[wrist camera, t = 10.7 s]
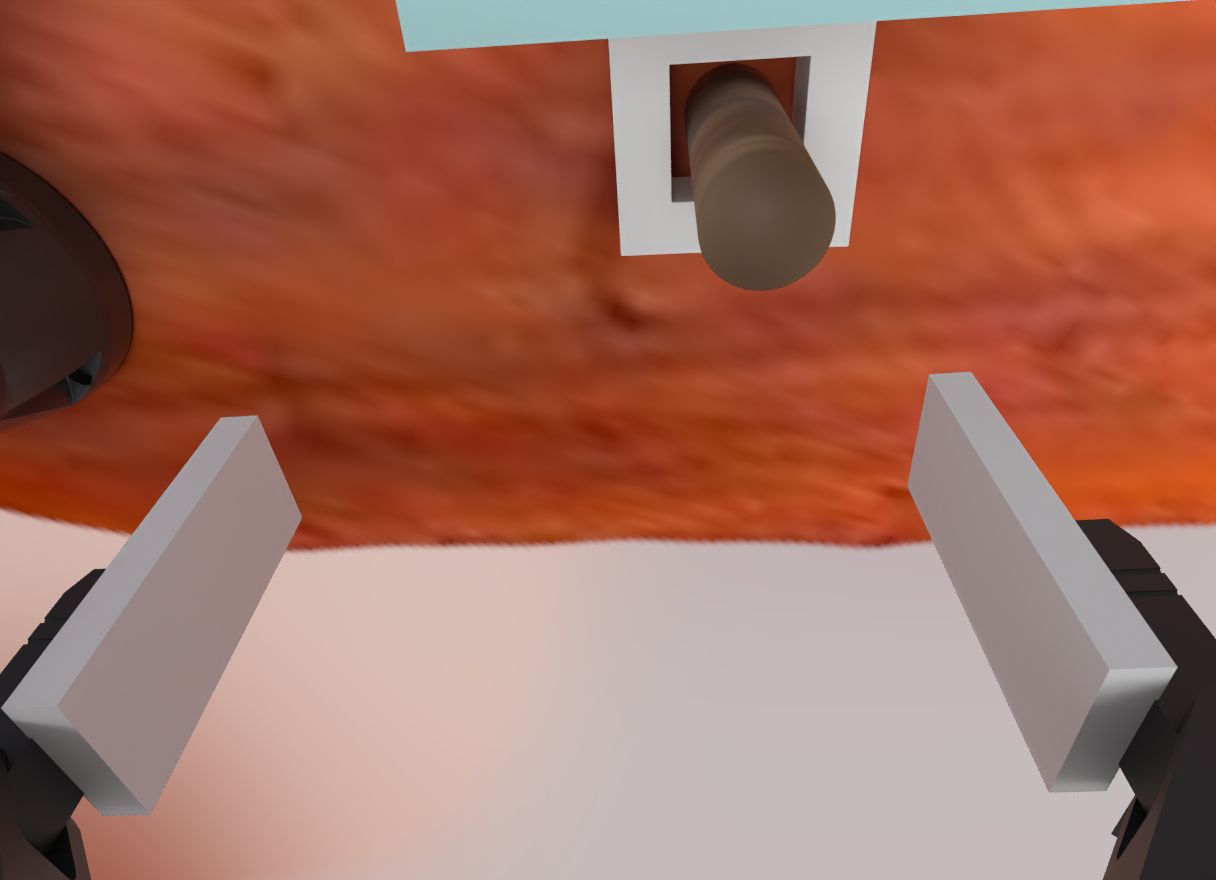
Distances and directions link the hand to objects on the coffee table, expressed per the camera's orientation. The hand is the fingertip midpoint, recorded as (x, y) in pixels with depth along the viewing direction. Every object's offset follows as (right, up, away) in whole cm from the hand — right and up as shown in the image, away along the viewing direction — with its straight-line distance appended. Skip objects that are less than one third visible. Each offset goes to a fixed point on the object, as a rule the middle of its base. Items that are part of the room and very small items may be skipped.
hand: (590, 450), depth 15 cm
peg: (+6, +15, +18) cm, 24 cm away
